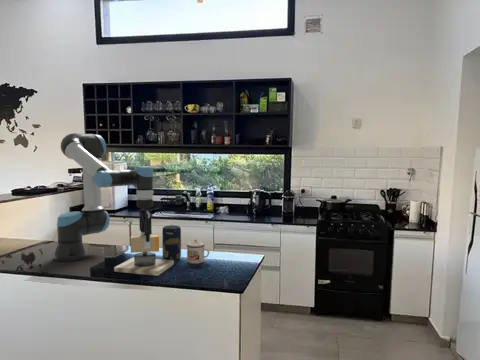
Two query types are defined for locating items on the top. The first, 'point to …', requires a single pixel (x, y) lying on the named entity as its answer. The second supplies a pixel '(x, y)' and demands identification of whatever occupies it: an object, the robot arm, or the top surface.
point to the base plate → (144, 267)
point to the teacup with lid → (196, 251)
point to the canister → (171, 242)
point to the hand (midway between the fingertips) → (145, 246)
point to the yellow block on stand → (144, 250)
